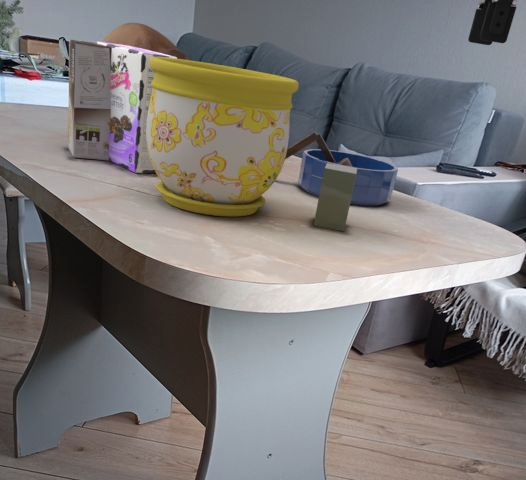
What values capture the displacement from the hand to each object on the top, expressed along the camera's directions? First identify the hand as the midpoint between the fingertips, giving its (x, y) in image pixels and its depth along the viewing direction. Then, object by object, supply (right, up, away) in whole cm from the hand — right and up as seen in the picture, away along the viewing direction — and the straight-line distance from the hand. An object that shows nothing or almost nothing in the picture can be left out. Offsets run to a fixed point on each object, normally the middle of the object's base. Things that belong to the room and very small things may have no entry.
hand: (485, 42), depth 80 cm
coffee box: (-57, -9, +18) cm, 60 cm away
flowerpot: (-36, -21, +1) cm, 42 cm away
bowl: (-16, -14, +21) cm, 30 cm away
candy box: (-50, -11, +16) cm, 54 cm away
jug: (-49, -1, +36) cm, 61 cm away
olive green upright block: (-20, -23, +1) cm, 31 cm away
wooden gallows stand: (-20, -14, +21) cm, 33 cm away
